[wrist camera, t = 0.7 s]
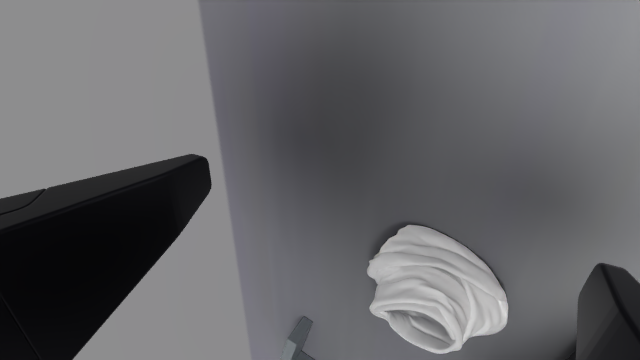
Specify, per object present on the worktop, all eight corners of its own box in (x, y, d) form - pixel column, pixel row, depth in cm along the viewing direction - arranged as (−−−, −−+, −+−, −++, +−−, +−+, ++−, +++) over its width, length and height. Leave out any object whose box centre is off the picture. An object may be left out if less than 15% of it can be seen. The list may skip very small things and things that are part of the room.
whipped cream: (532, 268, 21) (542, 329, 17) (473, 346, 25) (469, 413, 20) (397, 203, 23) (376, 245, 19) (358, 284, 26) (333, 335, 22)
